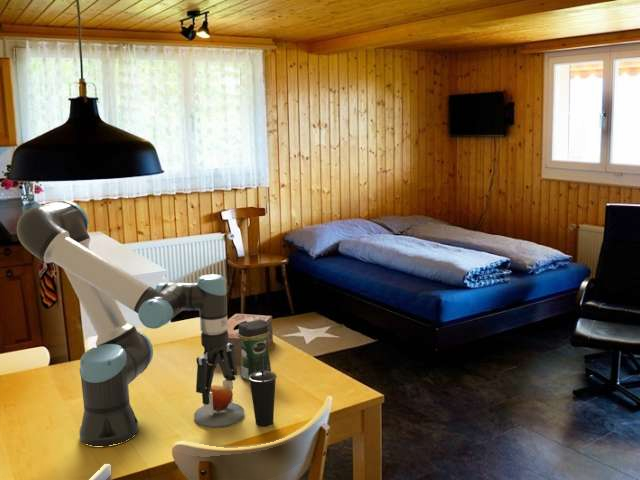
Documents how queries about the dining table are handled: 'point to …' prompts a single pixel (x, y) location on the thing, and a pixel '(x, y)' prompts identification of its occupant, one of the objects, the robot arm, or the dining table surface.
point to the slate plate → (220, 417)
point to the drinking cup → (263, 395)
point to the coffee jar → (253, 347)
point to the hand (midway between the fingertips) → (218, 407)
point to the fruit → (220, 397)
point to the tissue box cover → (234, 327)
